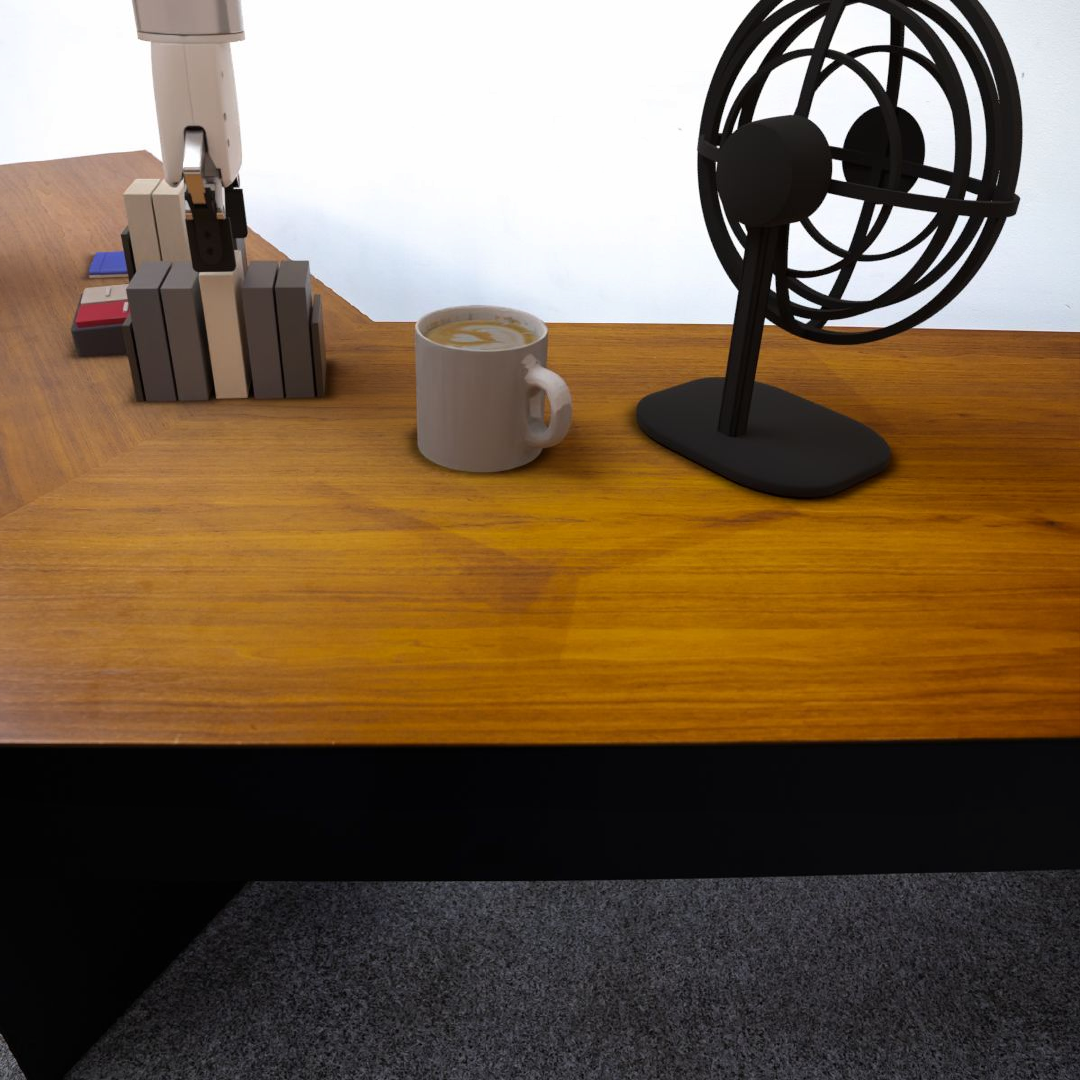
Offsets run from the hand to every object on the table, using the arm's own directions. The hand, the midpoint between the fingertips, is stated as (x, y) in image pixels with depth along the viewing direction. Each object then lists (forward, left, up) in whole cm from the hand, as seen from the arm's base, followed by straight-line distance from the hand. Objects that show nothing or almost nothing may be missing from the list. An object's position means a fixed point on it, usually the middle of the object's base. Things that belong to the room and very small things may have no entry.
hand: (222, 253), depth 80 cm
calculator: (-8, +13, -12) cm, 20 cm away
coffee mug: (+21, -15, -12) cm, 28 cm away
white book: (0, 0, -12) cm, 12 cm away
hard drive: (-13, +35, -12) cm, 39 cm away
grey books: (0, 0, -12) cm, 12 cm away
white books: (-8, +27, -12) cm, 31 cm away
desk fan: (+44, -14, -12) cm, 47 cm away
